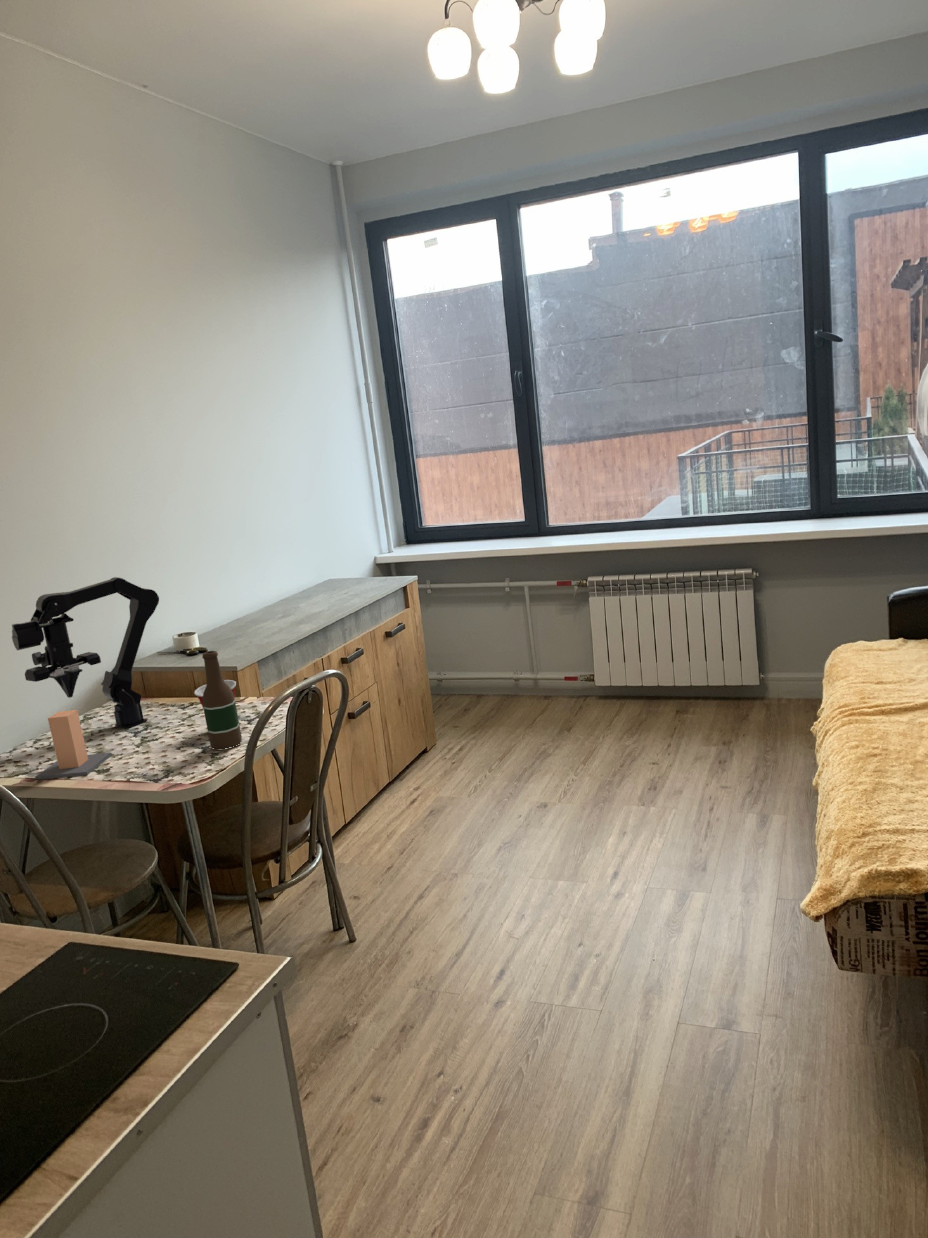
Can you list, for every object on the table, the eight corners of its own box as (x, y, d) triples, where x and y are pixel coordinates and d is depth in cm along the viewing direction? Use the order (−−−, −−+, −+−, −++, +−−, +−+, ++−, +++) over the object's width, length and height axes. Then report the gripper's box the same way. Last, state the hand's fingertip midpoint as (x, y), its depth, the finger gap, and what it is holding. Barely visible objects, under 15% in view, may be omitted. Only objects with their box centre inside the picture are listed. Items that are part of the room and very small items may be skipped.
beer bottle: (248, 739, 233) (232, 647, 228) (231, 751, 226) (213, 655, 221) (222, 739, 236) (205, 648, 231) (204, 751, 229) (186, 656, 224)
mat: (62, 760, 236) (62, 757, 236) (111, 755, 235) (110, 752, 235) (35, 779, 223) (35, 776, 223) (87, 774, 222) (86, 771, 222)
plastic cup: (193, 736, 242) (184, 692, 239) (218, 722, 252) (210, 680, 249) (228, 737, 238) (219, 692, 235) (252, 722, 247) (244, 679, 245)
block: (69, 761, 232) (58, 711, 229) (88, 759, 231) (77, 709, 229) (59, 768, 227) (47, 718, 224) (78, 766, 226) (67, 716, 224)
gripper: (74, 631, 259) (86, 684, 262) (8, 648, 245) (22, 705, 248) (96, 632, 252) (107, 688, 255) (29, 650, 238) (42, 709, 241)
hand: (70, 697), depth 250 cm, fingers closed
